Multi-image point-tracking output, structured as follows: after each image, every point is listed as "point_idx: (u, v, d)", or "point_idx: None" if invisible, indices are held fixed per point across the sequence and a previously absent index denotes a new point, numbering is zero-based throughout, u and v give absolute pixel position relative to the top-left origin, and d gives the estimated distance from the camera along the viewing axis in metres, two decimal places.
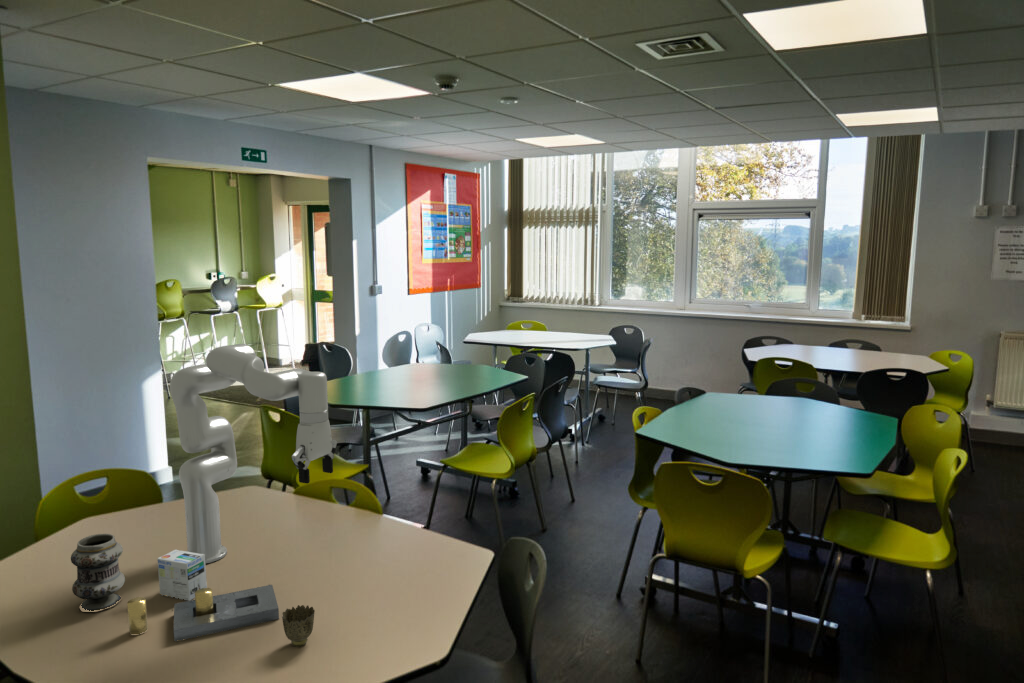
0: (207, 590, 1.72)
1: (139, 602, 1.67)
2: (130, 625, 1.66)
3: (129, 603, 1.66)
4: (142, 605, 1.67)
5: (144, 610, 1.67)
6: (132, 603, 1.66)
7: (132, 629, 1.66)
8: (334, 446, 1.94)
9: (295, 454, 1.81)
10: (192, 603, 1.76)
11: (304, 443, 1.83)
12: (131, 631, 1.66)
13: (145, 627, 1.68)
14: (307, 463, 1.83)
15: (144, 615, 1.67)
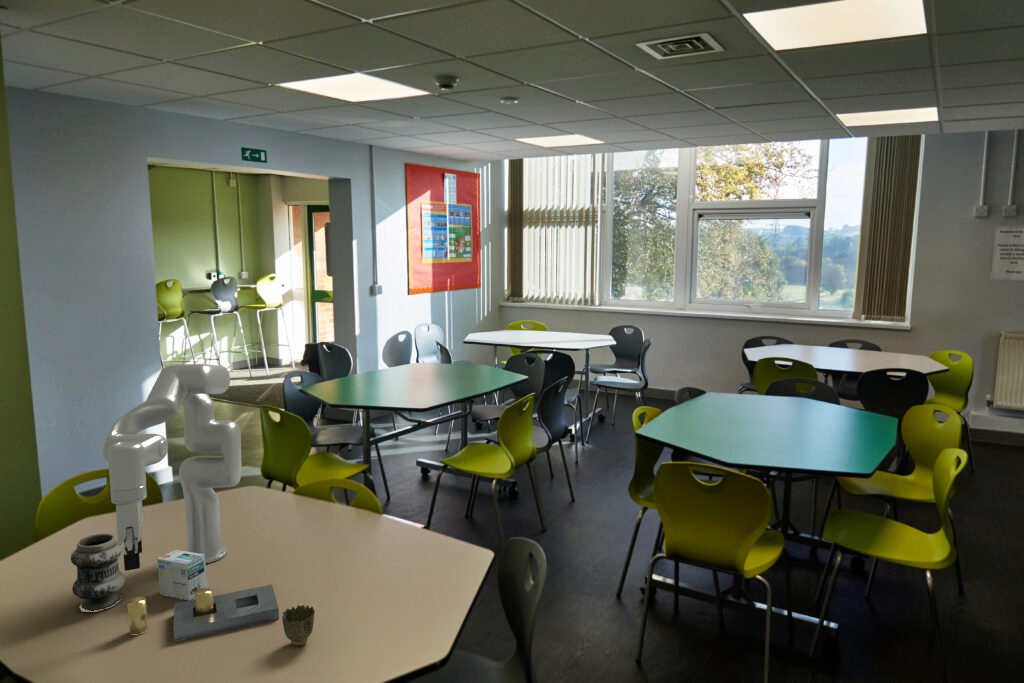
0: (207, 590, 1.72)
1: (139, 602, 1.67)
2: (130, 625, 1.66)
3: (129, 603, 1.66)
4: (142, 605, 1.67)
5: (144, 610, 1.67)
6: (132, 603, 1.66)
7: (132, 629, 1.66)
8: None
9: (129, 538, 1.58)
10: (192, 603, 1.76)
11: (132, 524, 1.61)
12: (131, 631, 1.66)
13: (145, 627, 1.68)
14: (137, 545, 1.62)
15: (144, 615, 1.67)
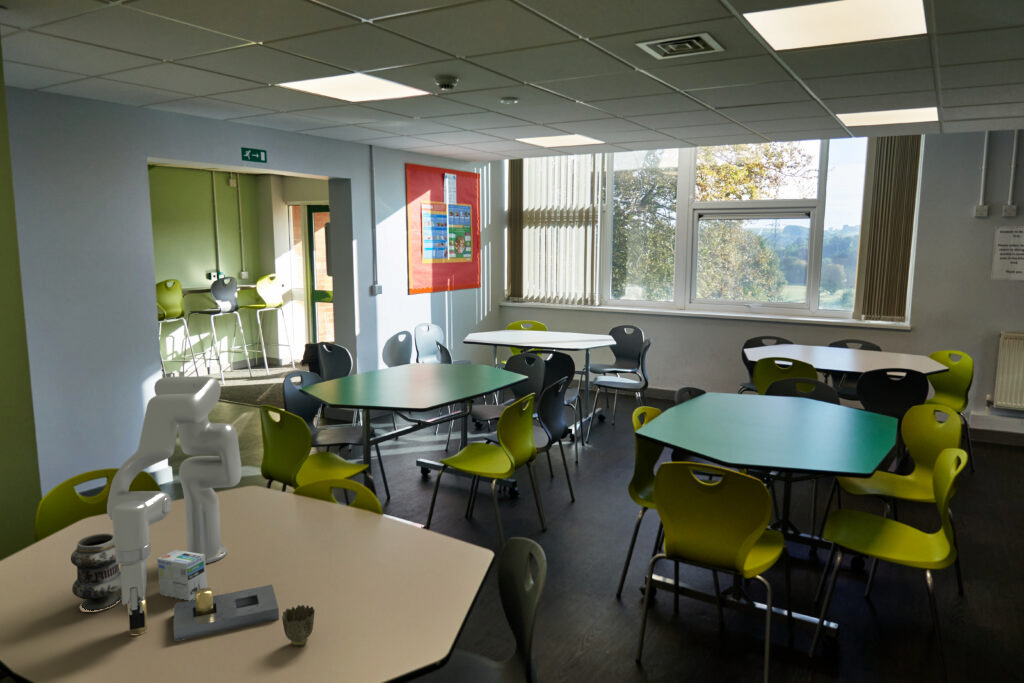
0: (207, 590, 1.72)
1: None
2: None
3: None
4: (142, 605, 1.67)
5: (144, 610, 1.67)
6: None
7: None
8: None
9: (134, 605, 1.61)
10: (192, 603, 1.76)
11: (136, 584, 1.62)
12: (131, 631, 1.66)
13: (145, 627, 1.68)
14: None
15: (144, 615, 1.67)
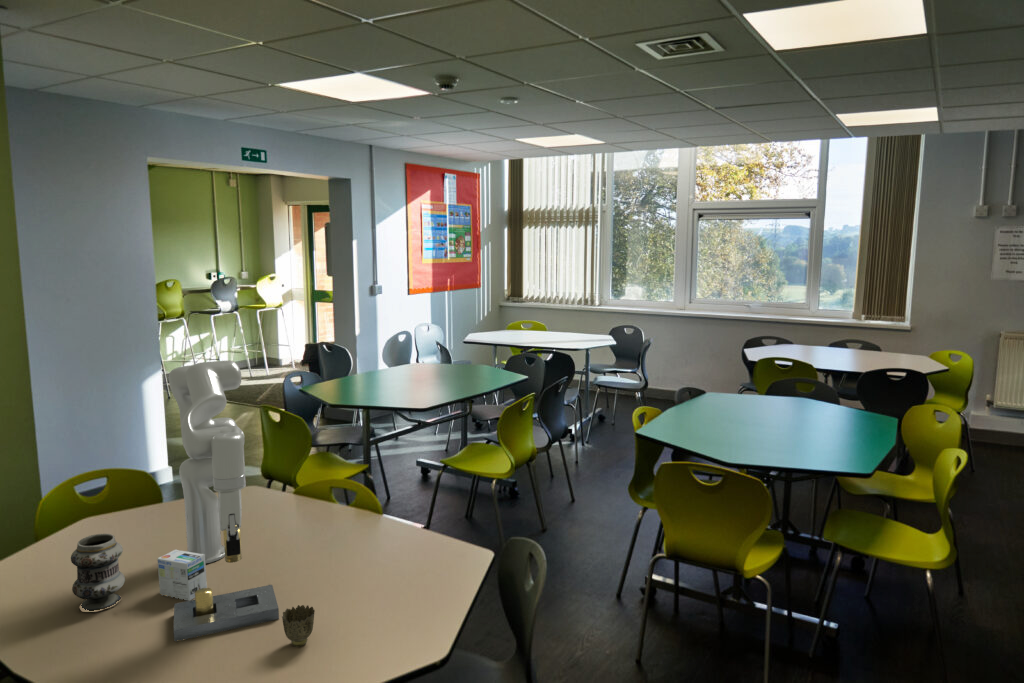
0: (207, 590, 1.72)
1: None
2: (226, 552, 1.72)
3: (225, 531, 1.72)
4: None
5: None
6: None
7: None
8: None
9: (233, 530, 1.67)
10: (192, 603, 1.76)
11: (234, 511, 1.69)
12: (227, 557, 1.72)
13: (240, 555, 1.74)
14: None
15: None
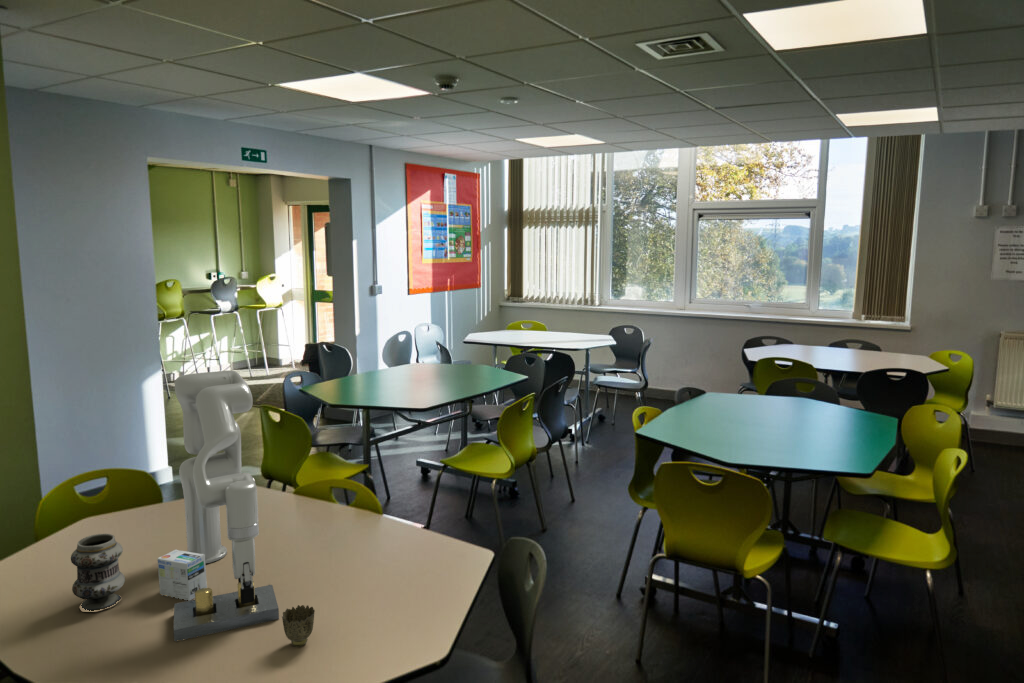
0: (207, 590, 1.72)
1: None
2: (240, 606, 1.75)
3: (239, 585, 1.75)
4: None
5: None
6: None
7: None
8: None
9: (247, 576, 1.69)
10: (192, 603, 1.76)
11: (248, 559, 1.71)
12: None
13: None
14: (252, 580, 1.73)
15: None
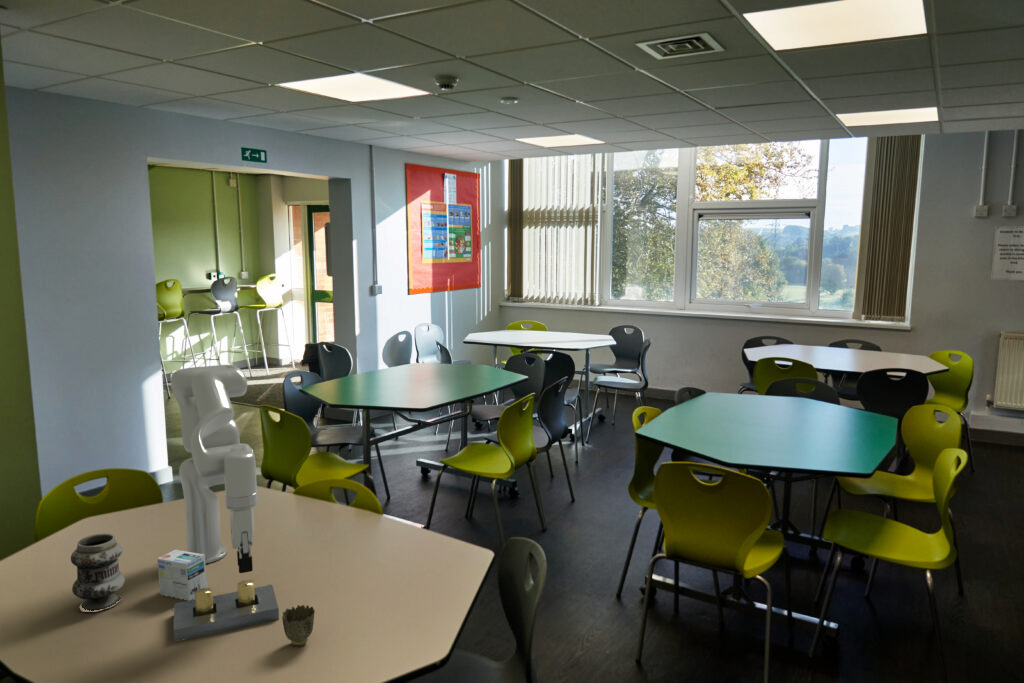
0: (207, 590, 1.72)
1: (248, 584, 1.76)
2: (240, 606, 1.75)
3: (239, 585, 1.75)
4: (251, 587, 1.76)
5: (253, 592, 1.76)
6: (242, 585, 1.75)
7: None
8: None
9: (246, 548, 1.69)
10: (192, 603, 1.76)
11: (247, 529, 1.70)
12: None
13: None
14: (250, 550, 1.73)
15: (253, 597, 1.76)
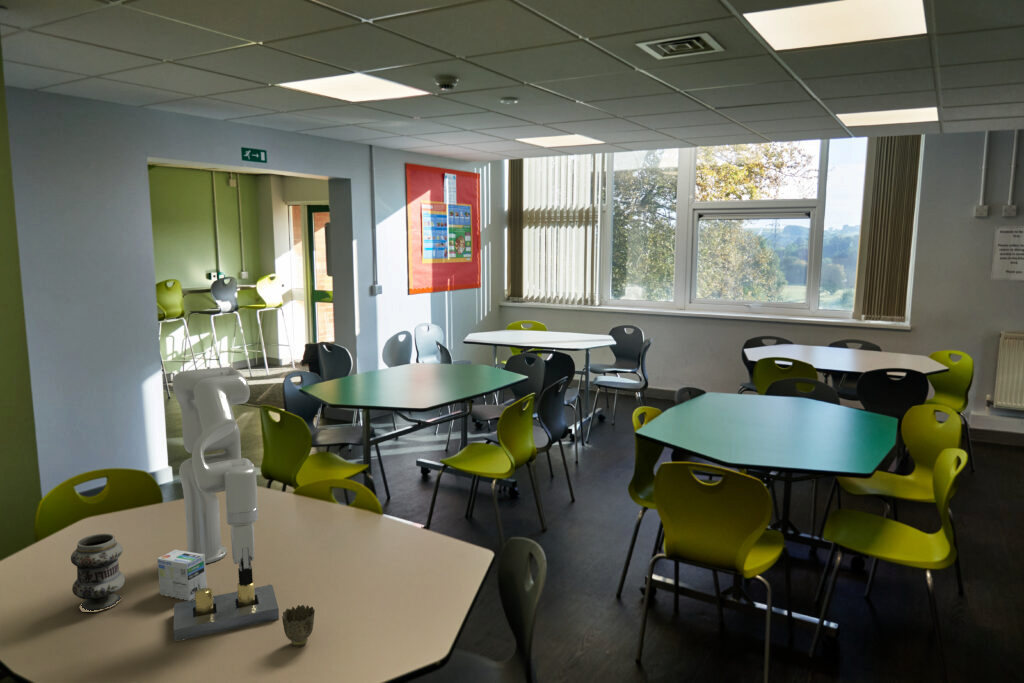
0: (207, 590, 1.72)
1: (248, 584, 1.76)
2: (240, 606, 1.75)
3: (239, 585, 1.75)
4: (252, 587, 1.76)
5: (253, 592, 1.76)
6: (242, 585, 1.75)
7: None
8: None
9: (246, 564, 1.71)
10: (192, 603, 1.76)
11: (248, 544, 1.71)
12: None
13: None
14: (250, 563, 1.75)
15: (253, 597, 1.76)
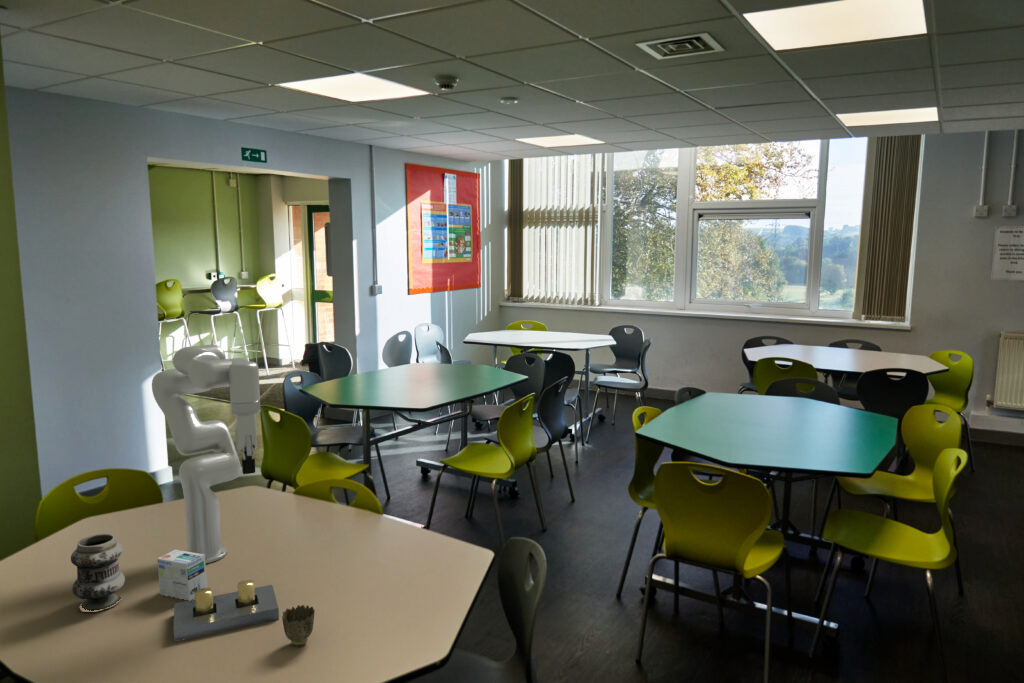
0: (207, 590, 1.72)
1: (248, 584, 1.76)
2: (240, 606, 1.75)
3: (239, 585, 1.75)
4: (252, 587, 1.76)
5: (253, 592, 1.76)
6: (242, 585, 1.75)
7: None
8: None
9: (249, 452, 1.82)
10: (192, 603, 1.76)
11: (250, 433, 1.81)
12: None
13: None
14: (253, 453, 1.86)
15: (253, 597, 1.76)
